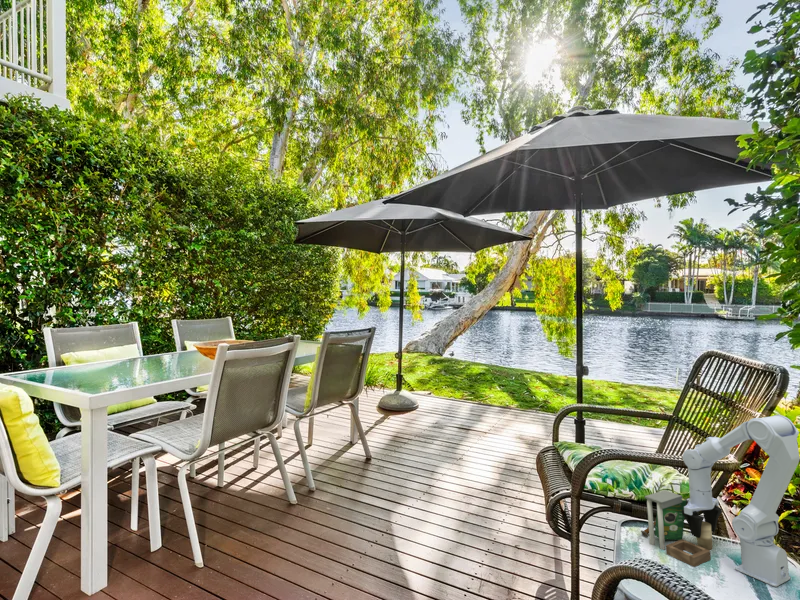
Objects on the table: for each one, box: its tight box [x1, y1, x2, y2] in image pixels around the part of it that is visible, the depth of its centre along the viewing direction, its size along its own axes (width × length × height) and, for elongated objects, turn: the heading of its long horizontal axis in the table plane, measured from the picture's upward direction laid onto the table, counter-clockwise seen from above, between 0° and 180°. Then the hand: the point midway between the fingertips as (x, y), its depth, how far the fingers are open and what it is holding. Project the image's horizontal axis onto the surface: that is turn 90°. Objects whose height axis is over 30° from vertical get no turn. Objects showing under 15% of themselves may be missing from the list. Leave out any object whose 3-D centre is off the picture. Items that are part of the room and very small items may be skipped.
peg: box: [695, 520, 714, 551], centre depth 132 cm, size 4×4×7 cm
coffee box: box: [654, 497, 687, 541], centre depth 137 cm, size 8×3×13 cm, turn 96°
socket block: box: [665, 538, 712, 568], centre depth 127 cm, size 8×8×2 cm
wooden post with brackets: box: [640, 518, 656, 538], centre depth 141 cm, size 2×8×4 cm, turn 110°
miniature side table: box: [644, 489, 683, 551], centre depth 135 cm, size 6×10×15 cm, turn 116°
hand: (703, 533), depth 132 cm, fingers open, 7 cm apart
